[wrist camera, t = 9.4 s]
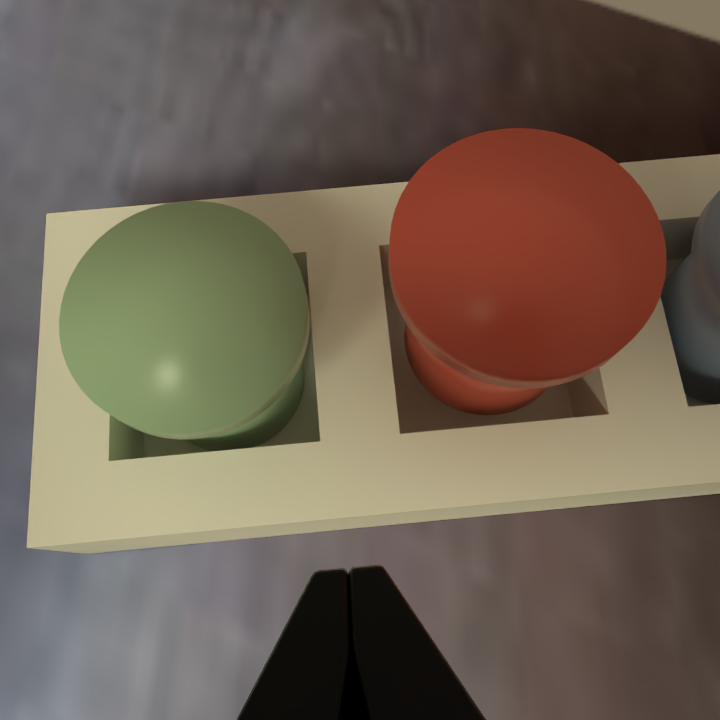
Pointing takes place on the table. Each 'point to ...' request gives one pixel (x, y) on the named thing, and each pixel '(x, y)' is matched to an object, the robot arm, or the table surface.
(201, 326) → the sage green button
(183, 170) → the table surface
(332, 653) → the robot arm
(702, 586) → the table surface
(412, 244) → the red button
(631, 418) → the button console
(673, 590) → the table surface
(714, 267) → the slate blue button
